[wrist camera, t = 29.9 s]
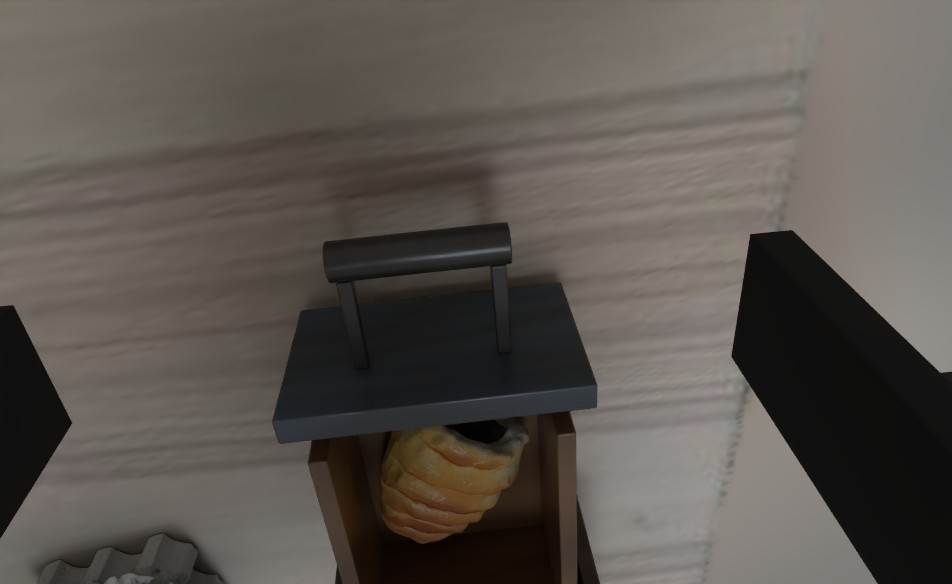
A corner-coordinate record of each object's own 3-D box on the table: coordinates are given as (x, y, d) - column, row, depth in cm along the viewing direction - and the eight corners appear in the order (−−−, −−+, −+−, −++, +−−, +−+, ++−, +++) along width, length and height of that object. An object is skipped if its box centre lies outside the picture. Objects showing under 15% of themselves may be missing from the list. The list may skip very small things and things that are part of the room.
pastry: (463, 527, 40) (467, 584, 37) (352, 500, 39) (345, 558, 35) (533, 410, 36) (544, 463, 33) (411, 374, 34) (410, 427, 31)
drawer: (271, 198, 30) (230, 292, 23) (558, 168, 30) (599, 253, 24) (359, 539, 42) (348, 667, 35) (565, 515, 42) (594, 638, 35)
